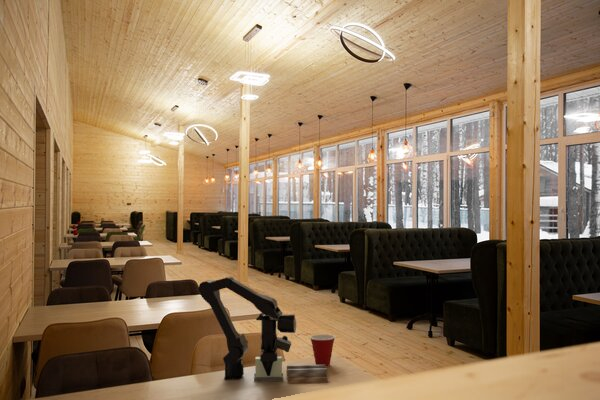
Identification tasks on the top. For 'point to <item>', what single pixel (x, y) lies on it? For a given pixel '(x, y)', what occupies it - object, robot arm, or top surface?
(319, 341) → the plastic cup
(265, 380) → the grey upright bracket
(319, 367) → the track plinth
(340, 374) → the top surface
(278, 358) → the door panel
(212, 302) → the robot arm
